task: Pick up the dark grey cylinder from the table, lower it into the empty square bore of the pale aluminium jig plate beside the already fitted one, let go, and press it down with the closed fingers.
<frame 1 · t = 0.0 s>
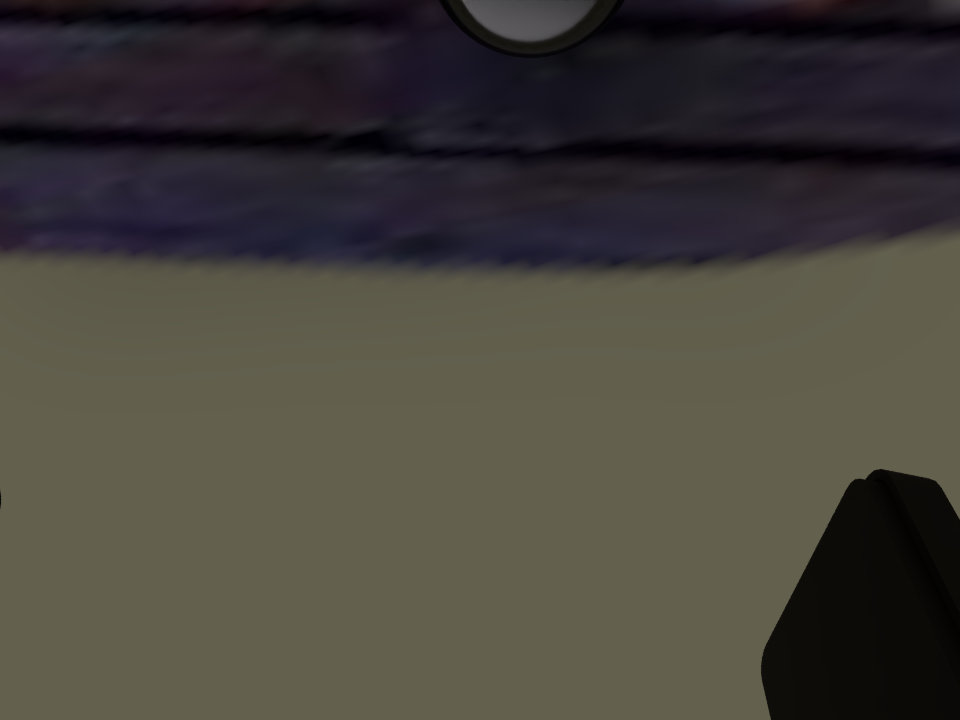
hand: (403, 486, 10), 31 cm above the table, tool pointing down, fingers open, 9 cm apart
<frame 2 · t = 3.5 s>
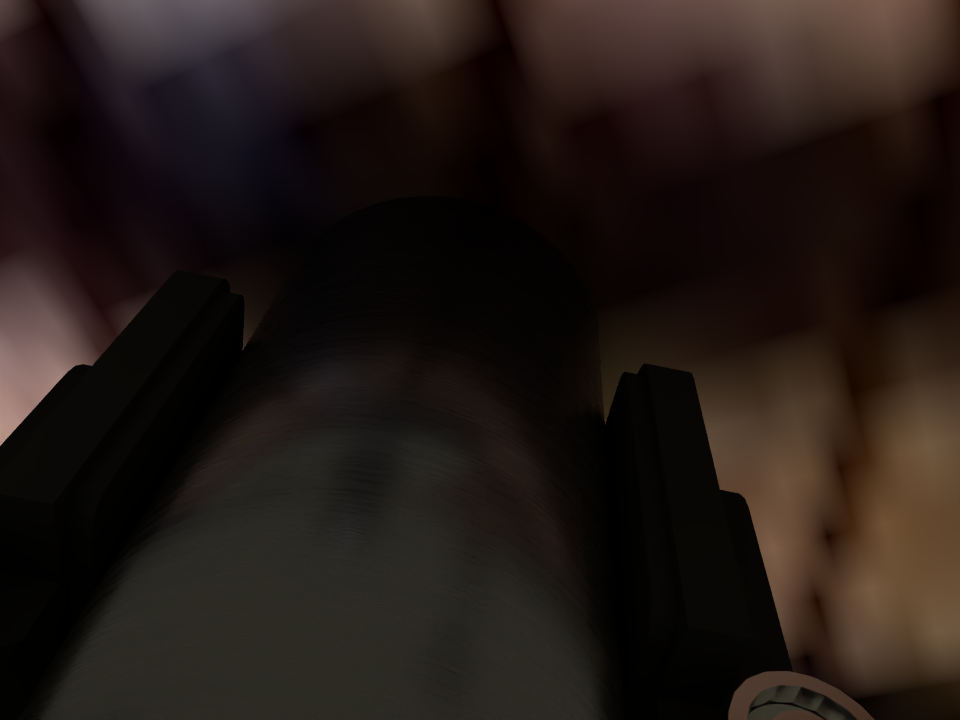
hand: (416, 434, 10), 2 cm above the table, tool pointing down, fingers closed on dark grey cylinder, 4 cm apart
dark grey cylinder: (437, 349, 12), on the table, touching gripper
when the fingers open (4 cm above the table, at t = 8.6 s): dark grey cylinder drops 2 cm, resting in jig.
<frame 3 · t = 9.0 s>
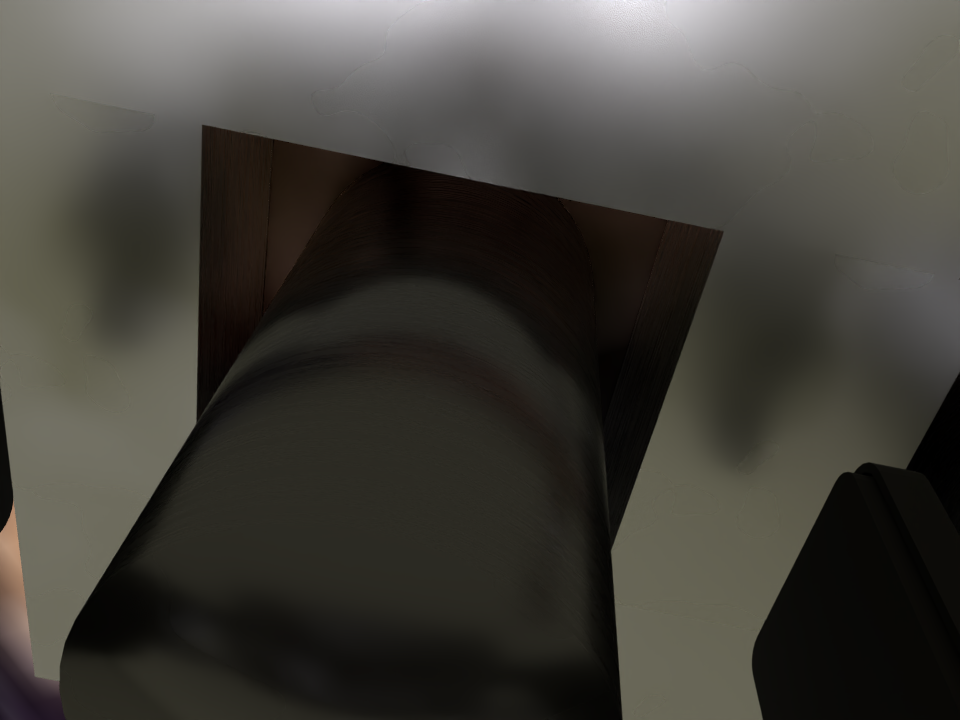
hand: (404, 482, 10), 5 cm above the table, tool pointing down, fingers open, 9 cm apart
jig: (734, 346, 14), on the table
dark grey cylinder: (450, 289, 14), resting in jig
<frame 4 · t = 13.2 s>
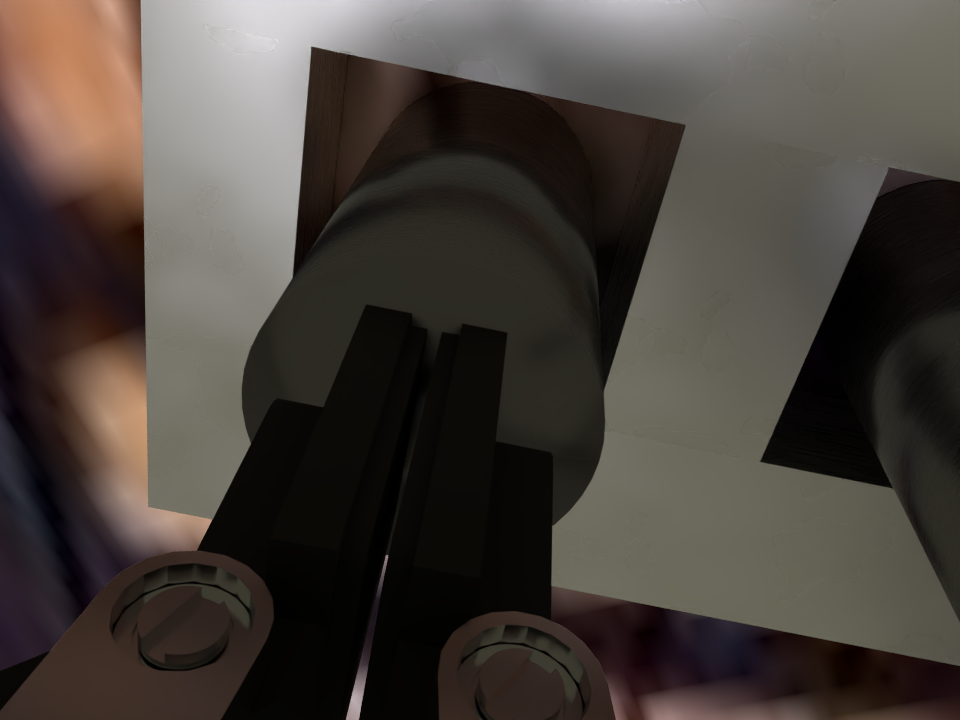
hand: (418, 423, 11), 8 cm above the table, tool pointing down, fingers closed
jig: (703, 240, 18), on the table
dark grey cylinder: (480, 195, 18), resting in jig, touching gripper
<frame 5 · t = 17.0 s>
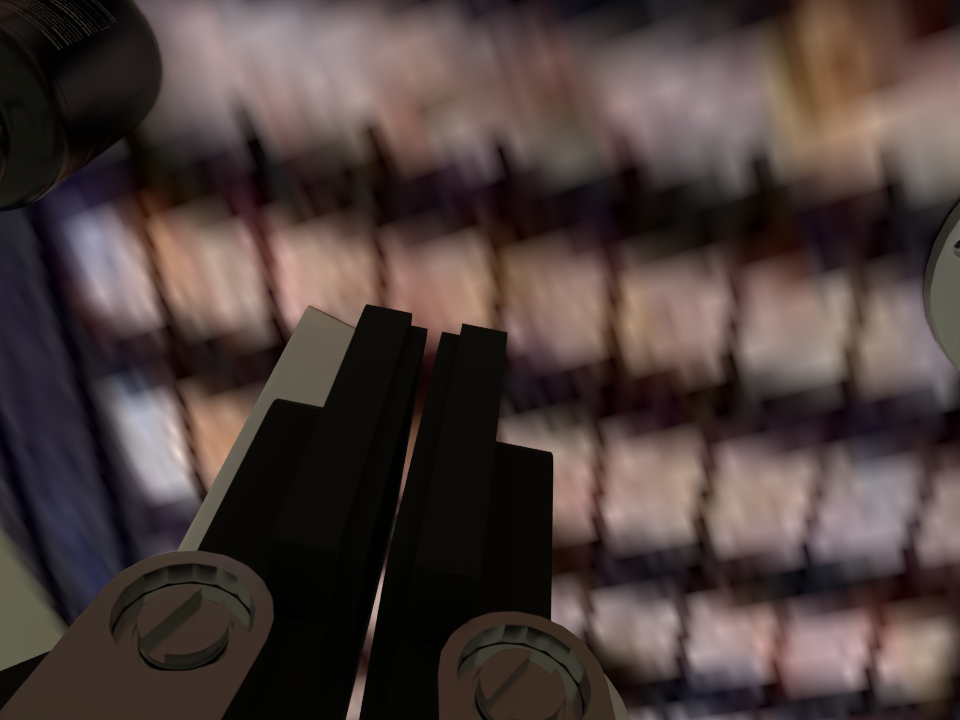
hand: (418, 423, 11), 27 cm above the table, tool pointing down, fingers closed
milk: (342, 377, 43), on the table
supplement bottle: (83, 55, 36), on the table
sauce bottle: (563, 665, 52), on the table
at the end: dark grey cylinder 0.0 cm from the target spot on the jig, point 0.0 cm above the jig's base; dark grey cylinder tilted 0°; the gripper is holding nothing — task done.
